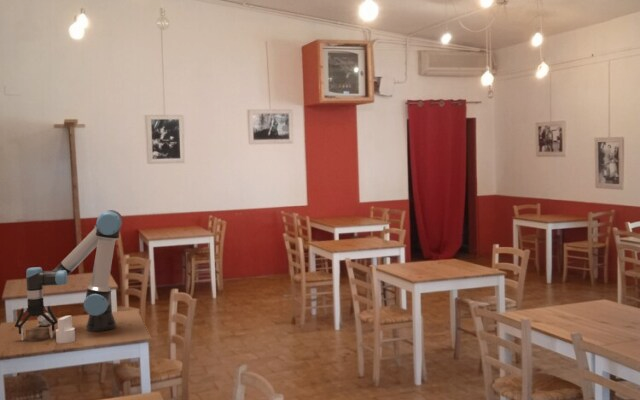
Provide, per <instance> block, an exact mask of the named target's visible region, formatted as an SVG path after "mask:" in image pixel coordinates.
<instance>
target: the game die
mask: <svg viewBox="0 0 640 400" xmlns="http://www.w3.org/2000/svg"><path fill="white" fill-rule="evenodd" d="M44 313H45V314H46V315H47V316H48V317H49V318H50V319H51V320H52V321H53V318H52V317H51V315H50V314H49V312H44ZM35 319H36V320H37V322H38V324H39V327H48V326H50V324H51V323H50V322H48V321H47V320H46V319H45V318H44V317H43V316H42V315H40V316H37V317H35Z"/></svg>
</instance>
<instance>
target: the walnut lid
mask: <svg viewBox="0 0 640 400" xmlns="http://www.w3.org/2000/svg"><path fill="white" fill-rule="evenodd" d="M49 339H51V336H50V327H48V326H47V327H46V326H40V327H33V328H29V329H26V330H25V340H26V342H29V343H34V342H35V343H36V342H43V341H47V340H49Z"/></svg>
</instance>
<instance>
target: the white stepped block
mask: <svg viewBox="0 0 640 400" xmlns="http://www.w3.org/2000/svg"><path fill="white" fill-rule="evenodd" d="M57 320H58V323H57V329H55V338H56V340H55V341H56V344H69V343H73V342H76V331H75V330H76V329H75V327H74V326H73V316H72V315H64V316H62V317H60V318H57Z"/></svg>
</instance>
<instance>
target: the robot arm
mask: <svg viewBox="0 0 640 400" xmlns="http://www.w3.org/2000/svg"><path fill="white" fill-rule="evenodd" d="M122 226H123V217H122V215H121V213H119V212H118V211H116V210H113V209H112V210H106V211H104V212H102V213H101V214H100V215H99V216H98V218H97V219H96V223H95V225H94V228H93V229H92V230H91V231H90V232H89V233H88V234H87V235H86V237H84V238H83V240H81V242H79V243H78V245H76V247H75V248H74V249H72V251H71V252H69V253H68V255H67V256H66V257H65V258H64V259H63V260H62V261H61V262H60V263H59V264H58V265H57V266H56V267H55V268H54V269H52V270H43V268H42V267H41V266H38V267H37V266H36V267H28V268H27V269H26V275H25V276H26V295H27V296H26V297H27V307H22V308H21V309H20V314H19V315H18V318H17V320H16V323H15V324H14V327H15V328H18V334H19V335H21V341H25V334H24V324H25V323H26V322H27V321H28V320H29V319H30V317H39V316H40V315H42V316H43V317H44V318H45V319H46V320H47V321H48V322H50V323H49V326H50V327H49V334H50V339H52V338H53V335H54V334H53V332H55V331H56V329H55V328H56V327H55V325H56V324H58V320H57V319H58V318H57V317H56V315H55V313H54V312H53V311H52V309H51V305H47V306H45V305H44V303H45V302H44V298H43V297H44V287H46V286H62V285H63V286H64V285H66V284H68V281H69V280H68V279H69V275H70V274H71V273H73V271H74V270H75V269H76V268H77V267H78V266H79V265H80V264H82V262H83V261H84V260H85V259H86V258H87V257H88V256H89V255H90V254H91V253H92V252H93V251H94V250H95V249H96V252H95V257H94V264H93V269H92V276H91V282H90V284H89V286H87V288H86V294H85V299H84V301H83V308H84V311H85V312H86V313H87V314H89V316H88V319H87V323H86V331H88V332H103V331H104V330H105V331H110V330H113V329H115V328H116V327H117V323H116V320H115V316H114V314H113V308H112V307H113V305H112V290H111V289H112V287H111V286H110V285H109V282H110V277H111V275H110V274H111V271H112V264H113V257H114V251H115V245H116V241H117V240H119V238H120V232H121V227H122ZM45 310H46V311H47V313H49V314H50V315H51V318H52V320H51V319H50V318H49V317H48V316H47V315H46V314H45V313H46V312H45ZM26 311H27V313H28V314H27V315H26V316H25V318H24V319H23V320H22V317H23V315H24V314H25V313H26ZM21 320H22V321H21ZM19 323H20V324H19ZM112 328H113V329H112ZM109 329H110V330H109Z"/></svg>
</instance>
